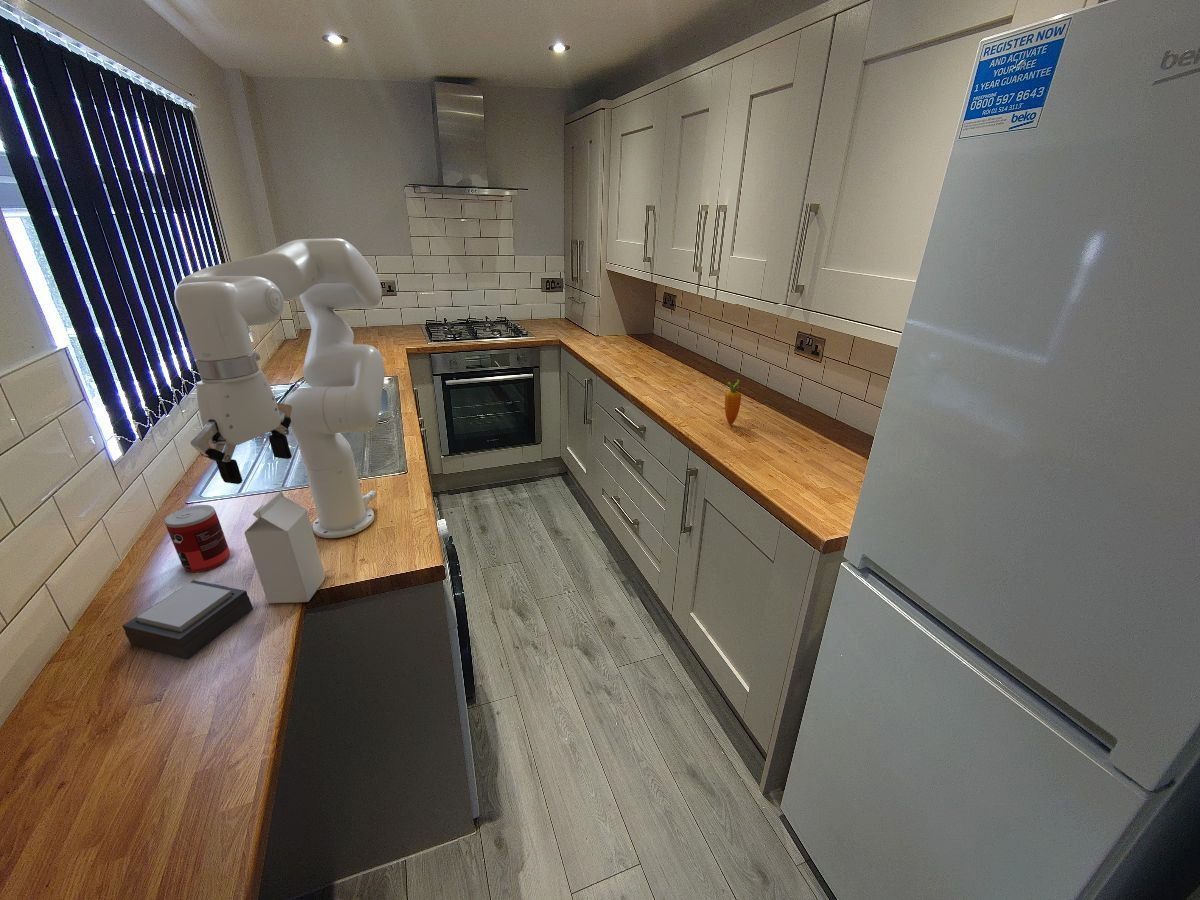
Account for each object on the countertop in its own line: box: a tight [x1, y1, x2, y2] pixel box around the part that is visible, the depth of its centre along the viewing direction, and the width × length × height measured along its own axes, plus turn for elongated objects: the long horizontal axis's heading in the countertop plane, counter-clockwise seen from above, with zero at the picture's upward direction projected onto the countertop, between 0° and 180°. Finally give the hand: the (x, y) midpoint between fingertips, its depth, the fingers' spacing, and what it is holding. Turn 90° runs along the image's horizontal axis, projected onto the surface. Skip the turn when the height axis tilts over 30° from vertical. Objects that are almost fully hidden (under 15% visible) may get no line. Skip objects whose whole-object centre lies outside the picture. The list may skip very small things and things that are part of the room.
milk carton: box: [244, 490, 326, 604], centre depth 93 cm, size 7×7×19 cm
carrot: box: [724, 379, 742, 426], centre depth 167 cm, size 5×5×15 cm
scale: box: [122, 579, 254, 660], centre depth 87 cm, size 12×12×4 cm
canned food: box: [164, 504, 231, 573], centre depth 103 cm, size 8×8×11 cm
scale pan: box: [136, 582, 232, 633], centre depth 87 cm, size 9×9×2 cm
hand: (259, 469), depth 86 cm, fingers open, 9 cm apart
